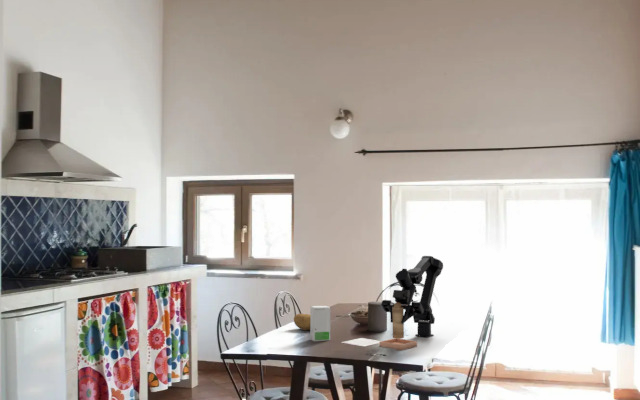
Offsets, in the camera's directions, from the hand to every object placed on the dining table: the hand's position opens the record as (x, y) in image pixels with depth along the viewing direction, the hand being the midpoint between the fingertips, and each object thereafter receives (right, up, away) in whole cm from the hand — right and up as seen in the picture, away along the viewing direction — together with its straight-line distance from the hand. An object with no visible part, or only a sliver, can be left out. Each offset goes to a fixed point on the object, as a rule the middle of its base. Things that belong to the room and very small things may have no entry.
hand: (396, 322), depth 282 cm
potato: (-40, -12, +45) cm, 61 cm away
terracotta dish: (+1, -11, +1) cm, 11 cm away
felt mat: (-14, -11, +10) cm, 20 cm away
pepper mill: (+1, -7, +1) cm, 7 cm away
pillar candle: (-4, -12, +42) cm, 44 cm away
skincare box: (-33, -12, +17) cm, 39 cm away
